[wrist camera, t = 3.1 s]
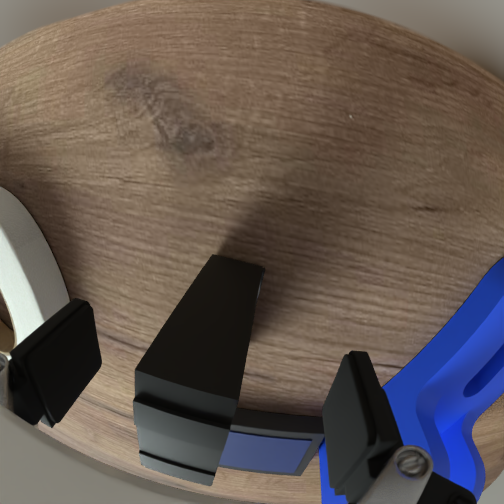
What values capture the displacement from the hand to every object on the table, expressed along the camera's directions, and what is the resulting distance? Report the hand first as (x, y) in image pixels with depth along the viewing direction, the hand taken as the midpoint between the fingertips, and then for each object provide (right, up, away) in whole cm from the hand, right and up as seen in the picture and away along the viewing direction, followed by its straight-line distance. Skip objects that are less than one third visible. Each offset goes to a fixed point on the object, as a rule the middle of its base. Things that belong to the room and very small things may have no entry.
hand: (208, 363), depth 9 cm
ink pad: (+1, -8, +7) cm, 11 cm away
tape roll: (-17, +1, +6) cm, 18 cm away
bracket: (+14, -4, +4) cm, 15 cm away
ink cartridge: (0, +1, +4) cm, 4 cm away
